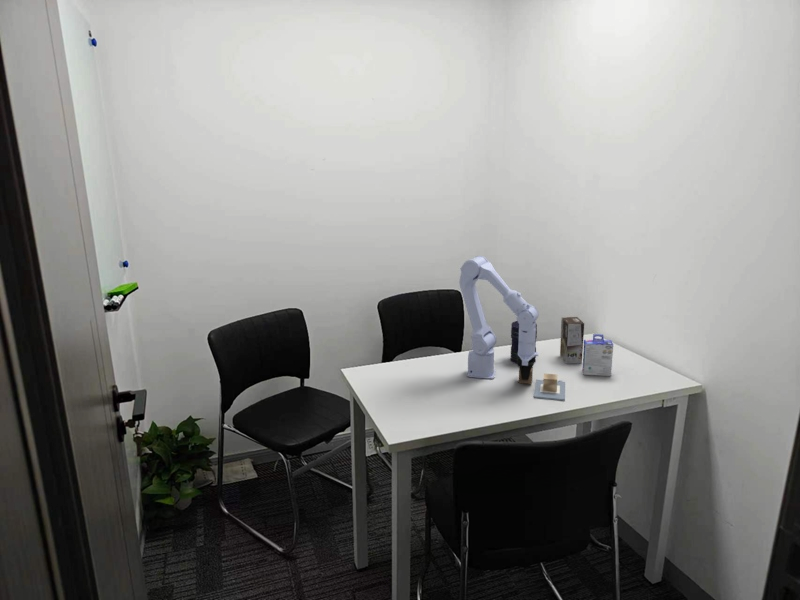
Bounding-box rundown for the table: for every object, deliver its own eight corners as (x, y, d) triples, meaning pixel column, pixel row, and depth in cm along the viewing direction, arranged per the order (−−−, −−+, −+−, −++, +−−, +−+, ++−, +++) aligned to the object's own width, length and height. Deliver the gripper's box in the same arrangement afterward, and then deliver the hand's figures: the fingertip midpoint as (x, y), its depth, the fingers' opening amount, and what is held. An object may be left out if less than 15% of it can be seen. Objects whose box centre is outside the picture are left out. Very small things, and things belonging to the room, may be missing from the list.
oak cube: (543, 390, 183) (543, 378, 181) (543, 385, 187) (544, 373, 186) (556, 392, 181) (557, 379, 180) (557, 386, 186) (557, 374, 184)
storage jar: (540, 363, 208) (541, 326, 204) (517, 366, 206) (518, 329, 202) (528, 354, 217) (529, 319, 213) (506, 357, 215) (506, 321, 211)
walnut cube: (518, 382, 190) (519, 370, 189) (519, 377, 194) (520, 365, 193) (531, 383, 188) (532, 371, 187) (532, 378, 193) (532, 367, 191)
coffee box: (582, 363, 206) (585, 323, 202) (565, 363, 206) (567, 324, 202) (575, 354, 215) (577, 316, 211) (559, 355, 215) (561, 316, 211)
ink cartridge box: (609, 370, 199) (612, 333, 195) (612, 376, 194) (614, 338, 190) (581, 369, 201) (583, 332, 197) (583, 375, 196) (585, 337, 192)
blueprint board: (533, 397, 179) (533, 396, 179) (536, 381, 192) (536, 379, 192) (565, 400, 176) (565, 398, 176) (565, 383, 189) (565, 381, 189)
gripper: (537, 349, 179) (536, 386, 183) (539, 334, 193) (538, 369, 196) (516, 347, 181) (515, 384, 185) (519, 333, 195) (518, 368, 198)
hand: (525, 376), depth 191 cm, fingers closed on walnut cube, 4 cm apart
